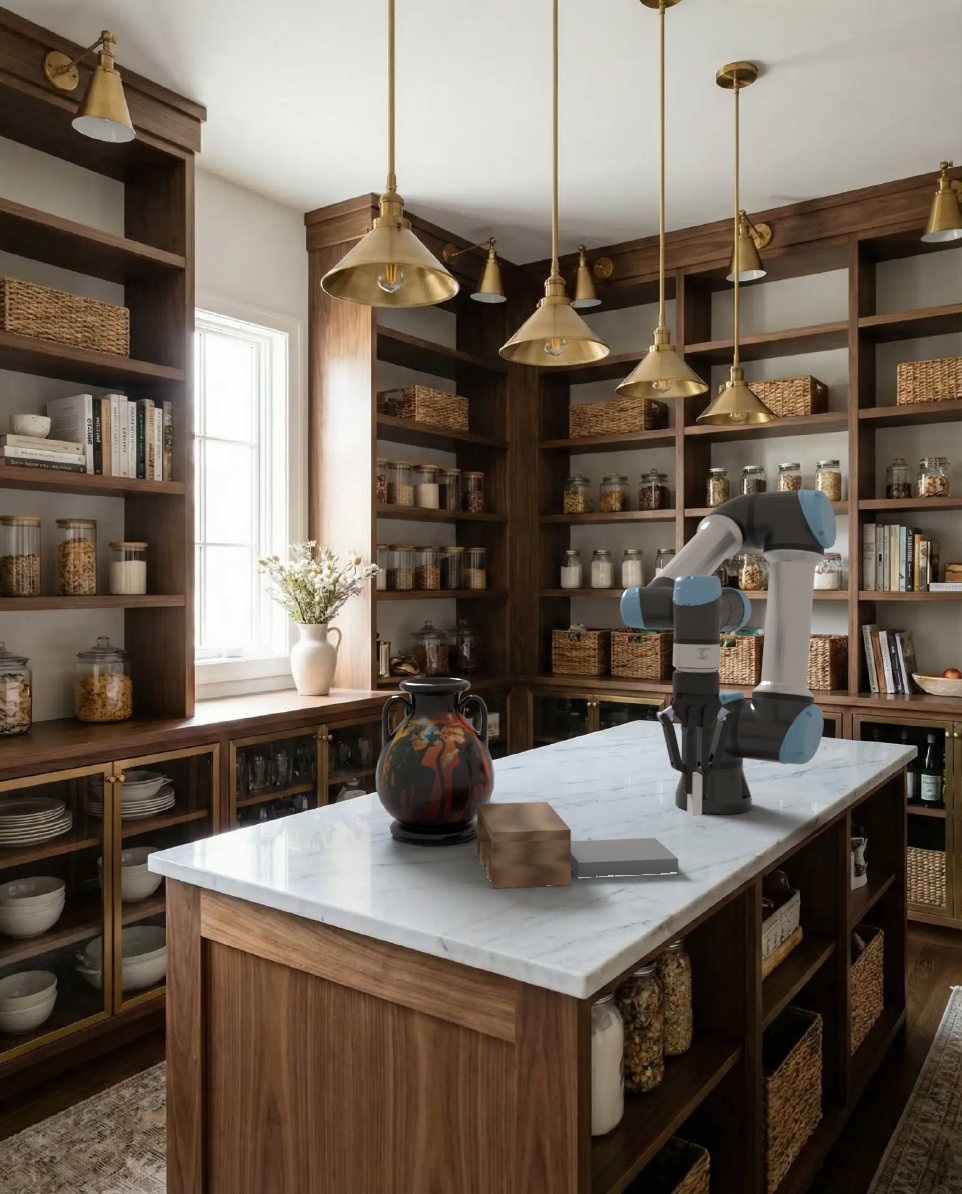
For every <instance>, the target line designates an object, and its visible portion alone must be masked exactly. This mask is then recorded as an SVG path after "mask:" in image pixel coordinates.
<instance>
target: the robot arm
mask: <svg viewBox="0 0 962 1194" xmlns="http://www.w3.org/2000/svg"><path fill="white" fill-rule="evenodd" d="M836 540H837V522H836V516H835V512H834V507H833V505H832V503H831V500H830V498H829V497H828V495H827V494H826V493H825V492H824V491H822V490H818V489H802V488H801V489H793V490H781V491H762V492H758V491H757V492H747V493H744V494H741V495H738V496H736V497H734V498H731V499H728V500H727V501H726V502H724V503H722V504H720V505H719V506H718V507H716V508H714V509H713V510H711V512H709V514H707V515H706V516H705V517H704V518H703V519H702V520H701V522H699V524H698V526H697V529H696V534H694V536H693V537H692V538H691V539H690V540H689V541H688V542H687V543H686V544H685V545H684V546H683V547H682V549H680V550H679V552H678V553H677V554H676V555H674V557H673V558H672V559H671V560H669V562H668V564H666V565H665V566H664V567H663V568H662V569H661V570H660V572H659V573H658V574H657V575H656V576H655V577H654V578H653V579H652V580H651V581H650V582H649V583H648V584H647V585H646V586H641V585H638V586H633V587H628V588H626V590H625V591H624V592H623V594H622V596H621V600H620V608H619V609H620V615H621V619H622V621H623V623H624V624H625V625H626V626H627V627H629V628H632V629H633V628H634V629H643V630H673V638H672V639H673V641H672V642H673V645H672V646H673V647H672V651H673V652H672V666H673V667H674V668H676V669H675V670H673V672H672V698H671V699H670V701H669V705H668V707H667V708H665V709H664V710H662V711H661V710H659V711H656V714H655V715H656V718H657V720H658V721H659V723H660V724H661V726H662V731H663V735H664V740H665V743H666V749H667V755H668V758H669V763H670V767H671V768H672V769H673V770H676V771H677V772H681V775H680V778H679V781H678V784H677V787H676V791H675V798H674V800H675V803H674V804H675V805H676V806H677V807H679V808H680V809H682V810H686V811H687V813H688V814H690V815H692V816H702V815H703V814H709V815H711V814H713V815H714V814H715V815H732V814H733V815H735V814H740V813H742V814H743V813H745V812H749V811H750V810H752V807H753V806H752V805H753V804H752V802H753V799H752V794H751V791H750V788H749V785H748V782H747V778H746V776H745V775H746V774H745V772H744V761H743V759H746V760H747V759H748V760H753V761H754V760H755V761H763V762H771V763H780V764H782V765H788V764H791V765H805V764H807V763H808V762H810V761H811V760H812V759H813V758H814V757H815V754H816V753H817V751H818V749H819V747H820V744H821V739H822V737H823V732H824V719H823V718H824V711H823V709H822V708H821V706H819V705H817V704H815V695H814V694H813V693H812V691H810V690H809V688H808V674H809V672H808V671H809V658H810V657H809V656H810V644H811V643H810V642H811V641H810V640H811V630H812V615H813V602H814V601H813V599H814V587H815V573H816V567H817V565H819V563H820V562H822V561H823V560H824V559H825V549H826V550H829V549H830V548H832V547H834V545H835V544H836ZM744 550H762V556H763V558H764V559H765V560H766V562H767V563H769V571H768V572H769V573H768V585H767V586H768V587H767V597H766V598H767V600H766V612H765V613H766V614H765V623H764V625H765V626H764V639H763V651H762V653H763V654H762V663H761V664H762V666H761V676H760V677H761V678H760V682H759V684H758V685H757V686H756V687H754V688H753V689H752V692H751V699H745V695H744V692H743V691H741V690H740V691H738V690H731V691H730V690H727V691H721V690H720V689H721V688H720V685H721V684H720V682H721V680H720V679H721V675H720V672H719V671H717V669H719V668H720V666H721V663H720V662H721V633H722V632H728V633H731V632H733V631H737V630H740V629H742V628H743V627H745V626H746V625H747V623H748V622H749V620H750V618H751V615H752V612H753V610H752V604H751V601H750V599H749V597H748V596H747V594H745V592H743V591H742V590H740V589H737V588H733V587H730V586H729V587H722V584H721V579H720V578H719V577H718V576H716V575H713V574H714V573H715V571H717V569H718V568H719V566H720V565H722V563H723V562H724V561H725V560H726V559H728V558H731V557H734V556H735V555H736V554H737V553H739V552H740V551H744ZM674 716H675V717H676V719H677V720H678V721H679V723H680V730H681V752H680V749H679V743H678V739H677V734H676V729H675V726H674V724H673V722H674V719H675V718H674Z"/></svg>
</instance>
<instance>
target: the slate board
mask: <svg viewBox="0 0 962 1194" xmlns="http://www.w3.org/2000/svg"><path fill="white" fill-rule="evenodd" d="M571 868H572V869H573V870H572V869H571V870H572V872H573V871H574V872H575V873H574V872H573V873H574V874H575V876H576V875H577V876H578V877H596V876H598V877H599V876H608V875H614V876H615V875H641V874H642V875H643V874H661V873H670V872H678V873H679V858H678V857H677V856H676V854H674V853H673V852H671V851H670V850H669V849H668V848H667V847H666V846H665V845H663V843H662V842H660V841H659V840H658V839H657V838H656V837H649V838H648V837H647V838H643V837H642V838H623V839H622V838H618V839H617V838H616V839H593V840H589V839H588V840H571ZM577 876H576V877H577ZM578 877H577V878H578Z"/></svg>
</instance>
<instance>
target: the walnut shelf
mask: <svg viewBox="0 0 962 1194" xmlns="http://www.w3.org/2000/svg"><path fill="white" fill-rule="evenodd" d="M476 819H477V835H476V837H477V838H476V840H477V841H476V843H477V844H476V849H477V850H476V854H478V855H477V857H478V856H480V857H479V861H480V863H482V864H481V865H487V866H486V877H487V876H488V877H487V879H489V880H491V881H490V885H492V886H491V888H499V889H501V888H500V887H521V888H537V887H536V886H544V887H548V886H547V885H566V886H571V885H572V884H571V882H572V881H571V880H572V877H571V876H572V874H571V873H572V871H571V870H572V869H571V841H572V837H571V836H572V830H571V828H570V826H568V825H567V823H566V822H565V821H564V820H563V819H562V818H561V816H560V815H559V814H558V812H556V810H554V808H553V807H552V806H551V805H550V804H549V802H548V801H533V802H532V801H528V802H527V801H526V802H525V801H524V802H499V803H497V802H496V803H495V802H494V803H488V804H477V817H476ZM489 880H488V881H489ZM532 886H533V887H532Z"/></svg>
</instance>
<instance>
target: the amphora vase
mask: <svg viewBox="0 0 962 1194" xmlns="http://www.w3.org/2000/svg"><path fill="white" fill-rule="evenodd" d="M398 685H399V688H400V690H401V691H403V692H407V694H409V698H410V701H409V700H408V699H407V698H405V697H404V696H402V695H392V696H390V697H389V698H387V700H386V702H385V704H384V706H383V708H382V716H381V720H382V721H381V751H380V754H379V757H378V761H377V765H376V770H375V789H376V792H377V795H378V798H379V801H380V803H381V804H382V806H383V808H384V809H385V811H386V812H387V813H388V814H389V815H390V816H391V817H392V818H393V819H394V820H392V822H391V824H390V825H389V830H390V831H389V832H390V834H391V835H392V836H393V837H395V838H396V839H397V840H399V841H401V842H404V843H408V844H409V843H410V844H413V845H420V844H422V845H421V846H448V845H453V844H459V843H463V842H467V841H469V840H472V839H473V838H475V837H477V804H489V802H490V800H491V799H492V798H491V797H492V794H493V792H494V788H495V770H494V769H495V768H494V764H493V759H492V756H491V753H490V750H489V722H488V721H489V718H488V717H489V716H488V708H487V705H486V703H485V701H484V700H483V698H482V697H480V696H479V695H477V694H470V695H467V696H465V697H464V698H463V699H461V700H460V697H461V694H462V693H463V692H465V691H467V690H469V689H470V688H471V683H470V682H469V681H468V680H466V679H462V678H454V677H420V678H411V679H405V680H403V681H401V682H400V683H399V684H398ZM471 702H473V703H476V704H478V707H479V709H480V715H481V716H480V717H481V724H480V730H479V731H480V733H478V732H479V731H478V730H477V729H476V728H475V727H474V726H473V725H472V723H471V722H470V721H469V720H468V719H467V718H466V716H465V709H466V708H465V707H466V706H467V705H468V704H469V703H471ZM395 703H401V705H402V706H403V707H404V708H405V717H404V718H403V720H402V721H401V722H400V723H399V725H397V726H396V728H395V729H394V730H393V731H392V733H391V732H390V724H389V717H390V710H391V707H392V705H394V704H395Z"/></svg>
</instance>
